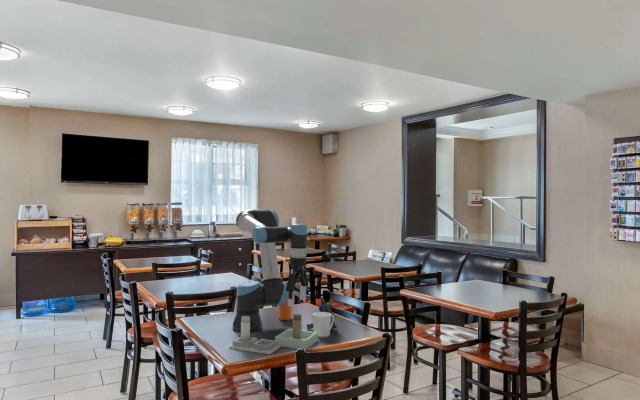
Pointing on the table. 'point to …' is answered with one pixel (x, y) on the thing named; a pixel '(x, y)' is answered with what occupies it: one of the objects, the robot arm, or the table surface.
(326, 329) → the mug
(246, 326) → the fuse
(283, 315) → the shaker bottle
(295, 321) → the fuse
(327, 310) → the gun
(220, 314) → the table surface
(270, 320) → the table surface
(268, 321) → the table surface
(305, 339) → the parts tray
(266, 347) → the panel
